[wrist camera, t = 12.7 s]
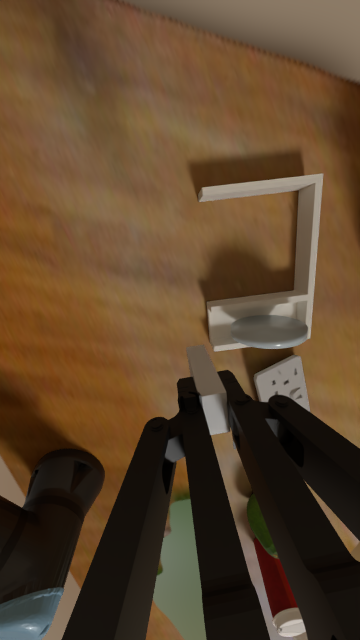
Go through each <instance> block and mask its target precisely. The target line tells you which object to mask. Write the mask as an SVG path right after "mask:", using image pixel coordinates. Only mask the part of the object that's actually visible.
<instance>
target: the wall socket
mask: <svg viewBox="0 0 360 640" xmlns="http://www.w3.org/2000/svg"><path fill="white" fill-rule="evenodd" d="M254 382H255V386H256V390H257V395H258V398H257V399H259V402H268V400H269V398H270V397H271V396H273V395H284V396H287V397H289V398H291V399H293V400H294V401H295V402H297V403H298V404H299V405H301V406H302V407H303V408H305V409H306V410H308V411H309V412H310V408H309V402H308V396H307V390H306V384H305V379H304V373H303V368H302V362H301V357H300V356H297V355H292V356H290V357H288V358H286V359H284V360H282V361H280V362H278V363H276V364H274V365H272V366H270V367H268V368H266V369H264V370H262V371H260V372H258V373H256V374H255V375H254ZM313 393H314V392H313Z"/></svg>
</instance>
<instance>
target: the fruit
mask: <svg viewBox="0 0 360 640" xmlns="http://www.w3.org/2000/svg"><path fill="white" fill-rule="evenodd" d="M247 516H248V521H249V524H250V527H251V529H252V531H253V532H254V534H255V536H256V537H257V539H258V540H259V542H260V543H261V544H262V546H263V547H264V549H265V550H266V551H267V552H268V553H269V554H270V555H271V556H272V557H274V558H278V559H279V557H278V554H277V552H276V549H275V546H274V544H273V541H272V539H271V536H270V534H269V531H268V528H267V526H266V523H265V521H264V518H263V515H262V513H261V510H260V508H259V505H258V502H257V500H256V497H255V495H254V494H252V495H251V497H250V498H249V501H248V504H247Z"/></svg>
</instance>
